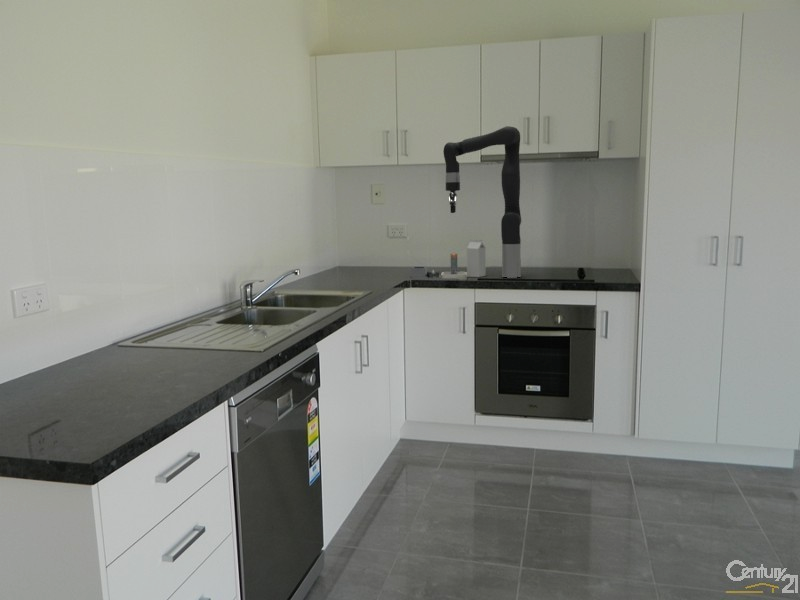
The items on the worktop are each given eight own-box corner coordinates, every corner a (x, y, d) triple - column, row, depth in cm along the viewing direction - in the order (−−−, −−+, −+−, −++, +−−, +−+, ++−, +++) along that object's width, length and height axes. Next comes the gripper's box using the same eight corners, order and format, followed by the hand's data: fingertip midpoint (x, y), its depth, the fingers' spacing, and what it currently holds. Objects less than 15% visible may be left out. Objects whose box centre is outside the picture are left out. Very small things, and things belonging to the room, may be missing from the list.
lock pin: (457, 277, 344) (457, 253, 342) (457, 277, 341) (457, 254, 339) (450, 277, 345) (450, 253, 343) (450, 277, 341) (450, 254, 339)
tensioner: (440, 277, 350) (440, 266, 349) (439, 280, 340) (438, 268, 339) (413, 277, 352) (413, 266, 351) (411, 280, 342) (411, 268, 341)
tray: (467, 277, 348) (467, 271, 348) (466, 280, 336) (466, 274, 336) (442, 277, 350) (442, 271, 349) (440, 280, 338) (440, 274, 338)
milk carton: (478, 277, 346) (478, 240, 343) (466, 276, 351) (466, 240, 348) (485, 276, 352) (485, 239, 349) (473, 275, 356) (473, 239, 353)
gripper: (459, 181, 344) (459, 213, 347) (460, 181, 358) (460, 212, 361) (444, 181, 345) (445, 213, 348) (446, 181, 359) (446, 212, 362)
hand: (453, 212), depth 354 cm, fingers open, 8 cm apart
